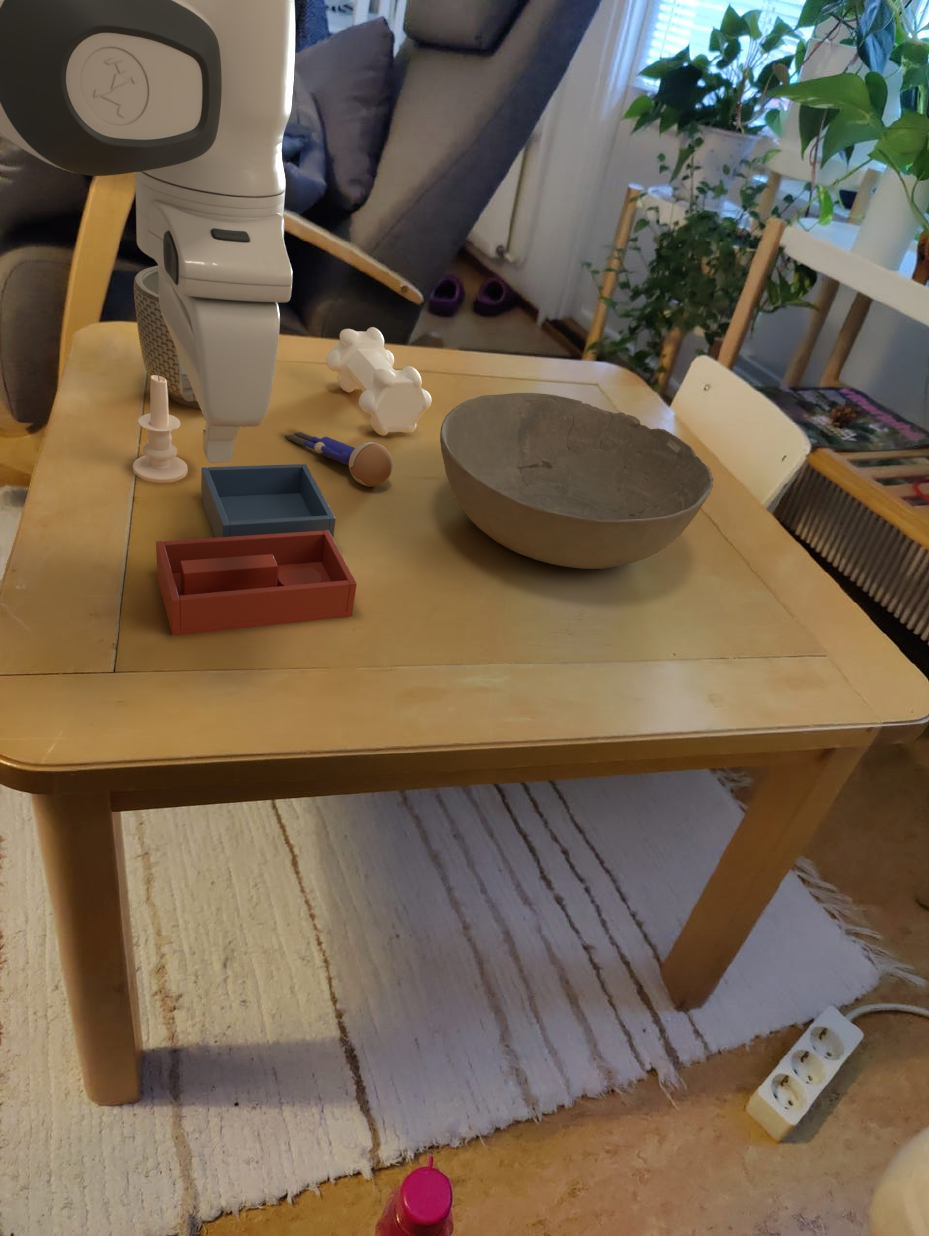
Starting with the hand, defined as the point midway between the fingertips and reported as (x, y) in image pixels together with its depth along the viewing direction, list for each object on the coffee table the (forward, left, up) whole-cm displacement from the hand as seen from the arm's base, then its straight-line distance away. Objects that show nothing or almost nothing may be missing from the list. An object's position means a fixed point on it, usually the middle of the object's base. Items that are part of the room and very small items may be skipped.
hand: (204, 426), depth 63 cm
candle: (0, +22, -16) cm, 27 cm away
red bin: (+4, 0, -16) cm, 17 cm away
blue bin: (+8, +11, -16) cm, 21 cm away
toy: (+18, +22, -16) cm, 33 cm away
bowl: (+38, +7, -16) cm, 42 cm away
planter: (+7, +39, -16) cm, 43 cm away
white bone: (+27, +35, -16) cm, 47 cm away
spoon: (+4, 0, -15) cm, 16 cm away
